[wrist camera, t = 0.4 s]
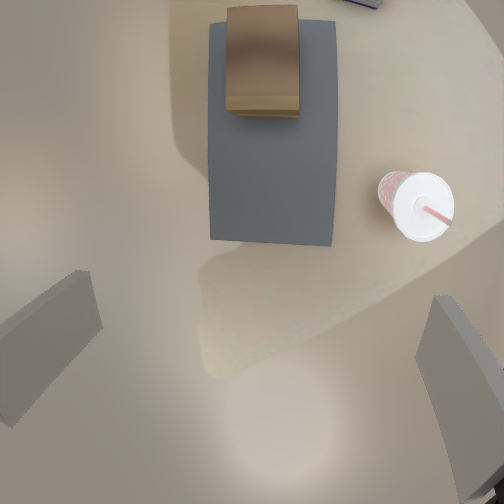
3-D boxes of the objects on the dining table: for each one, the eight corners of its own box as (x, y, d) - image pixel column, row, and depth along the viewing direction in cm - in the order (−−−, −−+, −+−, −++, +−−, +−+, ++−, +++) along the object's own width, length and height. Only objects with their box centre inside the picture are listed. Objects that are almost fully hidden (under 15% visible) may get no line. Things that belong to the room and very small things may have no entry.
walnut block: (244, 35, 28) (227, 7, 20) (299, 34, 27) (297, 5, 19) (243, 117, 31) (225, 110, 24) (300, 118, 30) (298, 110, 23)
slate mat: (211, 25, 28) (210, 24, 28) (334, 23, 26) (335, 21, 25) (211, 238, 37) (210, 239, 36) (330, 245, 35) (331, 246, 34)
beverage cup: (429, 183, 30) (494, 210, 17) (403, 227, 33) (453, 276, 20) (387, 154, 30) (439, 162, 17) (361, 200, 32) (396, 237, 19)
